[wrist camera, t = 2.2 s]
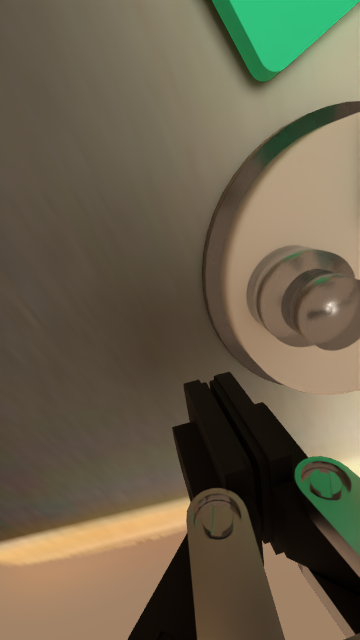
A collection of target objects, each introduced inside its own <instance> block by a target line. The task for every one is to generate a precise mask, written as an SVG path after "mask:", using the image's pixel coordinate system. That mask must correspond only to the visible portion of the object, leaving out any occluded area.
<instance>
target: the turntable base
mask: <svg viewBox="0 0 360 640" xmlns="http://www.w3.org/2000/svg"><path fill="white" fill-rule="evenodd" d="M358 112H360V101H357V102H345V103H341V104H336V105H331V106H327V107H325V108H322V109H320V110H317V111H314V112H312V113H309V114H307V115H305V116H303V117H301V118H299V119H297V120H295V121H293V122H292V123H290V124H288V125H286V126H285V127H283V128H281V129H280V130H278V131H277V132H276V133H274V134H273V135H272V136H271V137H269V138H268V139H267V140H265V141H264V142H263V143H262V144H261V145H260V146H259V147H258V148H257V149H256V150H255V151H254V152H253V153H252V154H251V155H250V156H249V157H248V158H247V159H246V160H245V162H244V163H243V164H242V165H241V167H240V168H239V169H238V171H237V172H236V173H235V174H234V176H233V178H232V179H231V181H230V182H229V184H228V186H227V187H226V189H225V191H224V192H223V194H222V196H221V198H220V201H219V203H218V205H217V207H216V209H215V212H214V214H213V217H212V220H211V223H210V226H209V229H208V233H207V237H206V242H205V248H204V253H203V267H202V279H203V292H204V297H205V302H206V307H207V310H208V313H209V316H210V319H211V322H212V324H213V326H214V328H215V330H216V332H217V334H218V336H219V338H220V339H221V340H222V342H223V343H224V345H225V346H226V347H227V349H228V350H229V351H230V352H231V354H232V355H233V356H234V357H235V358H236V359H237V360H238V361H239V362H240V363H241V364H242V365H243V366H245V367H246V368H247V369H249V370H250V371H251V372H253V373H254V374H256V375H258V376H260V377H262V378H264V379H266V380H269V381H272V382H275V383H278V384H282V383H280V382H278V381H276V380H275V379H274V378H272V377H271V376H270V375H268V374H267V373H266V372H265V371H264V370H263V369H262V368H261V367H260V366H259V365H258V364H257V363H256V362H255V361H254V360H253V359H252V358H251V357H250V355H249V354H248V353H247V352H246V351H245V350H244V349H243V348H242V346H241V345H240V343H239V342H238V340H237V339H236V337H235V336H234V334H233V332H232V330H231V328H230V326H229V324H228V320H227V317H226V314H225V311H224V307H223V302H222V296H221V282H220V272H221V260H222V254H223V249H224V244H225V240H226V236H227V233H228V230H229V227H230V224H231V221H232V219H233V217H234V214H235V212H236V210H237V208H238V206H239V204H240V202H241V200H242V198H243V197H244V195H245V194H246V192H247V190H248V189H249V187H250V186H251V184H252V182H253V181H254V180H255V179H256V177H257V176H258V175H259V174H260V172H261V171H262V170H263V169H264V168H265V166H266V165H267V164H268V163H269V162H270V161H271V160H272V159H273V158H275V157H276V156H277V155H278V154H279V153H280V152H281V151H282V150H283V149H285V148H286V147H287V146H289V145H290V144H291V143H293V142H294V141H295V140H297V139H298V138H300V137H302V136H304V135H305V134H307V133H309V132H311V131H312V130H314V129H317V128H319V127H322V126H324V125H327V124H329V123H332V122H335V121H337V120H340V119H342V118H345V117H348V116H350V115H353V114H355V113H358ZM282 385H284V384H282Z"/></svg>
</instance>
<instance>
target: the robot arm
mask: <svg viewBox="0 0 360 640" xmlns="http://www.w3.org/2000/svg"><path fill="white" fill-rule="evenodd" d="M184 391H185V397H186V403H187V408H188V414H189V420H190V422H189V423H186V424H182V425H178V426H175V427H172V429H173V435H174V440H175V445H176V449H177V453H178V458H179V462H180V466H181V469H182V473H183V477H184V480H185V484H186V487H187V491H188V494H189V498H190V501H191V503H190V505H189V508H188V510H187V520H186V521H187V532H188V533H187V534H186V536H185V538H184V540H183V542H182V543H181V545H180V547H179V549H178V550H177V552H176V554H175V556H174V558H173V559H172V561H171V563H170V565H169V567H168V568H167V570H166V572H165V574H164V575H163V577H162V579H161V581H160V582H159V584H158V586H157V588H156V590H155V592H154V593H153V595H152V597H151V598H150V600H149V602H148V604H147V606H146V608H145V609H144V611H143V613H142V614H141V616H140V618H139V620H138V622H137V623H136V625H135V627H134V629H133V630H132V632H131V634H130V636H129V638H128V640H285V638H284V635H283V632H282V628H281V625H280V621H279V618H278V614H277V611H276V607H275V604H274V601H273V597H272V594H271V590H270V587H269V584H268V580H267V576H266V573H265V570H264V560H263V547H262V541H263V542H264V543H265V544H266V543H269V542H270V543H271V545H272V547H273V550H274V551H275V553H276V555H277V554H280V553H283V552H284V553H285V555H286V557H287V558H289V559H291V560H293V561H295V562H297V563H298V566H299V568H300V570H301V572H302V574H303V575H304V577H305V578H306V580H307V581H308V583H309V584H310V586H311V587H312V589H313V590H314V591H315V593H316V594H317V596H318V597H319V599H320V600H321V602H322V603H323V604H324V606H325V607H326V609H327V610H328V612H329V613H330V615H331V616H332V617H333V619H334V620H335V622H336V623H337V625H338V626H339V628H340V629H341V631H342V632H343V634H344V635H345V636H346V638H347V639H345V640H360V478H359V477H358V476H357V475H356V474H355V473H354V472H352V471H351V470H350V469H349V468H348V467H346V466H345V465H343V464H342V463H340V462H338V461H336V460H334V459H331V458H327V457H322V456H319V457H310V458H308V457H307V455H306V454H305V453H304V452H303V450H302V449H301V448H300V447H299V445H298V444H297V443H296V442H295V440H294V439H293V438H292V437H291V435H290V434H289V433H288V432H287V431H286V429H285V428H284V427H283V426H282V424H281V423H280V422H279V421H278V419H277V418H276V417H275V416H274V414H273V413H272V412H271V411H270V409H269V408H268V407H267V406H266V405H265V404H264V403H262V402H261V403H257V404H254V403H253V402H252V401H251V399H250V398H249V397H248V395H247V394H246V393H245V391H244V390H243V389H242V387H241V386H240V385H239V383H238V382H237V381H236V379H235V378H234V377H233V375H232V374H231V373H230V372H227V373H223V374H219V375H215V376H214V380H212V381H210V389H209V387H208V385H207V383H206V382H205V383H201V382H200V381H199V380H196V381H192V382H188V383H184Z"/></svg>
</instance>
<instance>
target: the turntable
mask: <svg viewBox="0 0 360 640" xmlns="http://www.w3.org/2000/svg"><path fill="white" fill-rule="evenodd" d="M291 245H298V246H304V247H309V248H313V249H318V250H323V251H327V252H332V253H334V254H337V255H339V256H341V257H342V258H343V259H345V260H346V261H347V262H348V264H349V265H350V266H351V268H352V270H353V272H354V274H355V278H356V279H358V280H360V112H358V113H355V114H353V115H350V116H348V117H345V118H342V119H340V120H337V121H335V122H332V123H329V124H327V125H324V126H322V127H319V128H317V129H314V130H312V131H311V132H309V133H307V134H305V135H304V136H302V137H300V138H298V139H297V140H295V141H294V142H293V143H291V144H290V145H289V146H287V147H286V148H285V149H283V150H282V151H281V152H280V153H279V154H278V155H277V156H276V157H275V158H273V159H272V160H271V161H270V162H269V163H268V164H267V165H266V166H265V168H264V169H263V170H262V171H261V172H260V174H259V175H258V176H257V177H256V179H255V180H254V181H253V182H252V184H251V186H250V187H249V189H248V190H247V192H246V194H245V195H244V197H243V198H242V200H241V202H240V204H239V206H238V208H237V210H236V212H235V214H234V217H233V219H232V221H231V224H230V227H229V230H228V233H227V236H226V240H225V244H224V249H223V254H222V260H221V272H220V282H221V296H222V302H223V307H224V311H225V314H226V317H227V320H228V324H229V326H230V328H231V330H232V332H233V334H234V336H235V337H236V339H237V340H238V342H239V343H240V345H241V346H242V348H243V349H244V350H245V351H246V352H247V353H248V354H249V355H250V357H251V358H252V359H253V360H254V361H255V362H256V363H257V364H258V365H259V366H260V367H261V368H262V369H263V370H264V371H265V372H266V373H267V374H268V375H270V376H271V377H272V378H274V379H275V380H276V381H278V382H280V383H282V384H284V385H286V386H287V387H290V388H293V389H296V390H298V391H301V392H307V393H312V394H326V395H330V394H342V393H347V392H352V391H357V390H360V339H359V340H357V341H356V342H355V343H353V344H352V345H350V346H348V347H346V348H344V349H341V350H336V351H328V350H323V349H321V348H319V347H317V346H316V345H313V346H309V347H293V346H289V345H287V344H284V343H283V342H281V341H280V340H278V339H277V338H276V337H275V336H273V335H272V334H271V333H270V332H268V331H267V330H266V329H265V328H264V327H262V326H261V325H260V324H259V323H257V322H256V321H255V319H254V318H253V317H252V315H251V313H250V311H249V309H248V305H247V299H246V293H247V286H248V282H249V279H250V277H251V274H252V273H253V271H254V269H255V268H256V266H257V265H258V264H259V262H260V261H261V260H262V259H263V258H264V257H265V256H267V255H268V254H269V253H271V252H273V251H274V250H276V249H279V248H281V247H285V246H291Z"/></svg>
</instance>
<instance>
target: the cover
mask: <svg viewBox="0 0 360 640" xmlns="http://www.w3.org/2000/svg"><path fill="white" fill-rule="evenodd" d="M246 299H247V305H248V309H249V311H250V313H251V315H252V317H253V318H254V319H255V321H256V322H257V323H259V324H260V325H261V326H262V327H264V328H265V329H266V330H267V331H268V332H270V333H271V334H272V335H273V336H275V337H276V338H277V339H278V340H280V341H281V342H283V343H284V344H287V345H289V346H293V347H309V346H313V345H316V346H317V347H319V348H321V349H323V350H328V351H336V350H341V349H344V348H346V347H348V346H350V345H352V344H353V343H355V342H356V341H357V340H359V339H360V280H358V279H356V278H355V274H354V272H353V270H352V268H351V266H350V265H349V264H348V262H347V261H346V260H345V259H343V258H342V257H341V256H339V255H337V254H334V253H332V252H327V251H323V250H318V249H313V248H309V247H304V246H298V245H291V246H285V247H281V248H279V249H276V250H274V251H273V252H271V253H269V254H268V255H267V256H265V257H264V258H263V259H262V260H261V261H260V262H259V264H258V265H257V266H256V268H255V269H254V271H253V273H252V274H251V277H250V279H249V282H248V286H247V293H246Z"/></svg>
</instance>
